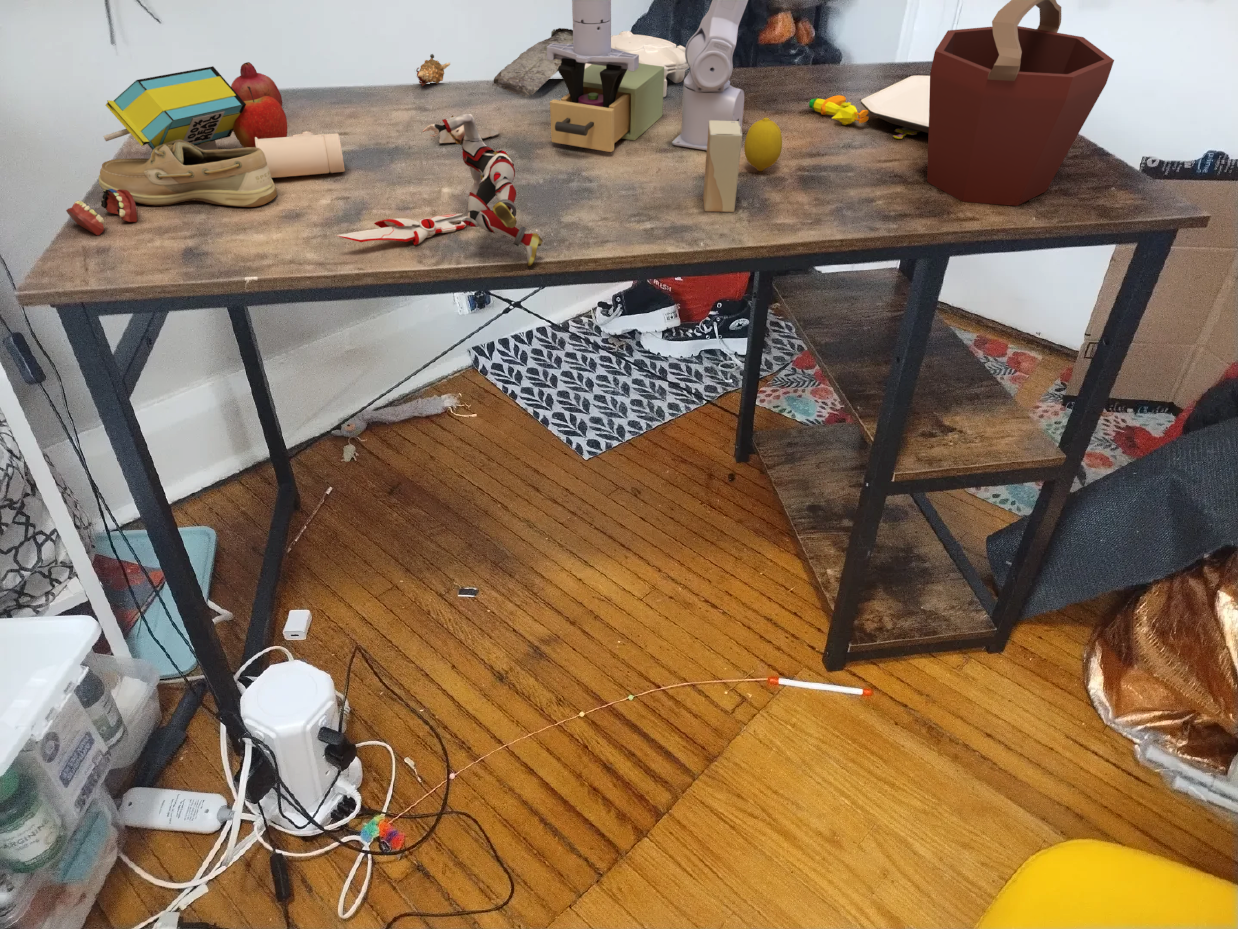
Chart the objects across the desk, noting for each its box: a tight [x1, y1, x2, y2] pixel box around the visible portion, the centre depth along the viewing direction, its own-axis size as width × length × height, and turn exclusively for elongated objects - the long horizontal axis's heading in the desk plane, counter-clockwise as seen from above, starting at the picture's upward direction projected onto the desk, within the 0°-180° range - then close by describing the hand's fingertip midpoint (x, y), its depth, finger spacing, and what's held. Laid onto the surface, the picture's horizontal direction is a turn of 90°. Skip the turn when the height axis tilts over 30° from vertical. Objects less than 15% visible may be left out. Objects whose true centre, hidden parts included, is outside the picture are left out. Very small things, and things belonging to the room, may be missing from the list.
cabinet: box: [583, 63, 664, 141], centre depth 148 cm, size 13×12×8 cm
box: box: [702, 120, 743, 213], centre depth 122 cm, size 5×4×11 cm
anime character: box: [334, 113, 543, 267], centre depth 112 cm, size 23×16×25 cm
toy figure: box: [808, 94, 870, 126], centre depth 151 cm, size 7×4×12 cm
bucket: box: [926, 0, 1115, 207], centre depth 124 cm, size 24×22×25 cm
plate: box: [860, 74, 930, 134], centre depth 151 cm, size 29×29×2 cm
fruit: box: [230, 61, 283, 108], centre depth 144 cm, size 8×8×10 cm
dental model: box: [65, 189, 138, 236], centre depth 119 cm, size 6×4×8 cm
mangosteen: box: [578, 93, 603, 107], centre depth 140 cm, size 5×5×4 cm
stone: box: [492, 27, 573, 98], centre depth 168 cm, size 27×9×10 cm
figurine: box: [414, 53, 451, 88], centre depth 164 cm, size 14×5×4 cm, turn 148°
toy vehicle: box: [585, 30, 690, 98], centre depth 166 cm, size 23×25×6 cm
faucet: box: [255, 130, 346, 179], centre depth 133 cm, size 6×12×12 cm
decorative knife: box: [892, 126, 922, 140], centre depth 148 cm, size 12×1×5 cm
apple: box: [232, 86, 288, 148], centre depth 135 cm, size 8×8×10 cm
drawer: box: [549, 87, 631, 153], centre depth 140 cm, size 15×10×6 cm
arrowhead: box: [438, 127, 500, 144], centre depth 144 cm, size 5×1×10 cm
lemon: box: [743, 117, 783, 172], centre depth 132 cm, size 6×6×8 cm
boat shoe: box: [98, 140, 278, 208], centre depth 124 cm, size 25×9×8 cm, turn 83°
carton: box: [102, 65, 246, 151], centre depth 126 cm, size 7×8×18 cm
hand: (593, 112), depth 140 cm, fingers closed on mangosteen, 4 cm apart
